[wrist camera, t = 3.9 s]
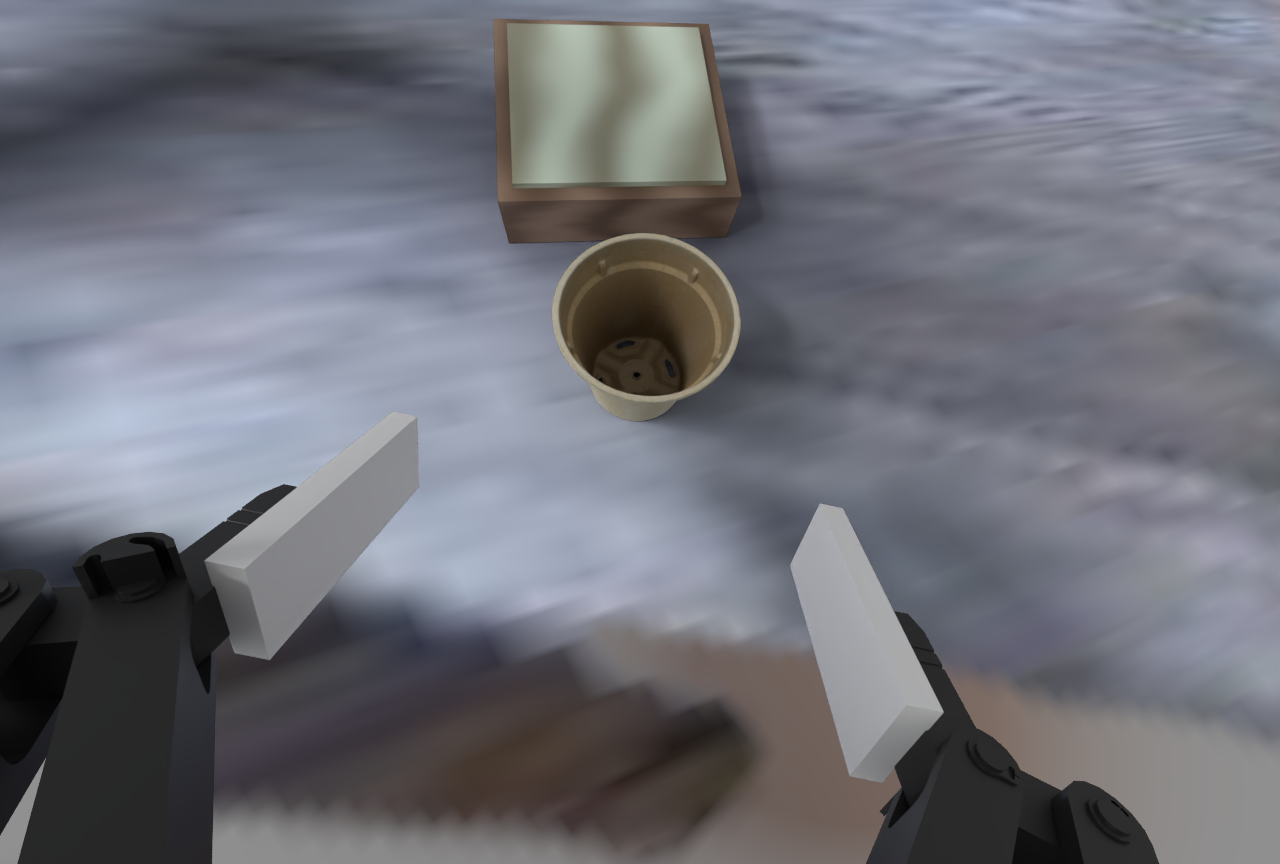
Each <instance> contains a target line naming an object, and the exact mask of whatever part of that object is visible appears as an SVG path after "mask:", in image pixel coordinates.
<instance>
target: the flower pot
mask: <svg viewBox="0 0 1280 864" xmlns="http://www.w3.org/2000/svg"><path fill="white" fill-rule="evenodd" d="M552 319H553V328H554V332H555V336H556V339H557V342H558V345H559V347H560V349H561V351H562V353H563V355H564V357H565V358H566V360H567V361H568V363H569V364H570V365H571V367H572V368H573V369H574V370H575V371H576V372H577V373H578V374H579V375H580V376H581V377H582V378H583V379H584V380H585V381H586V382H588V383H589V384H590V387H591V389H592V392H593V394H594V396H595V398H596V399H597V401H598V402H599V404H600V405H601V406H602V407H603V408H604V409H606V410H607V411H609V412H610V413H612V414H614V415H616V416H618V417H620V418H622V419H625V420H630V421H644V420H650V419H653V418H655V417H658V416H660V415H662V414H663V413H665V412H666V411H667V410H669V409H670V408H671V407H672V406H673V405H674V403H675V402H676V401H677V400H680V399H683V398H686V397H689V396H691V395H693V394H695V393H697V392H699V391H700V390H702V389H704V388H705V387H707V386H708V385H709V384H710V383H712V382H713V381H714V380H715V379H716V378H717V377H718V376H719V375H720V374H721V373H722V372H723V370H724V369H725V368H726V366H727V365H728V364H729V362H730V360H731V358H732V356H733V354H734V352H735V350H736V347H737V344H738V340H739V335H740V329H741V319H740V313H739V305H738V302H737V299H736V295H735V293H734V291H733V289H732V287H731V284H730V283H729V281H728V279H727V278H726V276H725V275H724V273H723V272H722V271H721V269H720V268H719V267H718V266H717V265H716V264H715V263H714V262H713V261H712V260H711V259H710V258H709V257H708V256H706V255H705V254H703V253H702V252H701V251H699V250H698V249H697V248H695V247H694V246H691V245H690V244H687V243H685V242H683V241H681V240H678V239H675V238H671V237H668V236H666V235H658V234H650V233H636V234H625V235H622V236H618V237H615V238H611V239H608V240H605V241H603V242H600V243H598V244H596V245H595V246H593V247H591V248H589V249H588V250H586V251H585V252H583V254H581V255H580V256H579V257H578V258H577V259H576V260H574V261H573V262H572V263H571V265H570V266H569V267H568V269H567V270H566V271H565V273H564V274H563V276H562V278H561V280H560V282H559V284H558V286H557V288H556V292H555V295H554V300H553V307H552ZM625 341H631V342H634V345H630V346H626V347H622V348H620V349H617V347H616V346H617V345H618V344H620V343H621V342H625ZM667 360H668V362H669V363H670V364H671V366H672V368H673V370H674V372H675V376H673V377H671V376H669V374H668V369H667V366H666V364H665V361H667ZM635 372H638V373H639V374H640V376H639V377H638V378H635V377H634V373H635ZM600 378H602V379H603V383H604V384H603V383H601V382H600V381H599V379H600ZM605 384H606V385H605Z"/></svg>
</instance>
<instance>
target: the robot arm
mask: <svg viewBox="0 0 1280 864" xmlns="http://www.w3.org/2000/svg"><path fill="white" fill-rule="evenodd" d="M418 488H419V464H418V429H417V416H412V415H407V414H403V413H398V412H394V411H393V412H392V413H390V414H389V415H388V416H387V417H385V418H384V419H383V420H382V421H380V422H379V423H378V424H377V425H375V426H374V427H373V428H371V429H370V430H369V431H368V432H366V433H365V434H364V435H363V436H361V437H360V438H359V439H358V440H356V441H355V442H354V443H352V444H351V445H350V446H349V447H347V448H346V449H345V450H344V451H342V452H341V453H340V454H339V455H337V456H336V457H335V458H334V459H332V460H331V461H330V462H328V463H327V464H326V465H325V466H323V467H322V468H321V469H320V470H318V471H317V472H316V473H315V474H313V475H312V476H311V477H309V478H308V479H307V480H306V481H304V482H303V483H302V484H301V485H299V486H298V487H295V486H290V485H285V484H283V485H281V486H279V487H276V488H274V489H271V490H269V491H267V492H264V493H262V494H260V495H258V496H257V497H256V498H254V499H253V500H252V501H250V502H249V503H248V504H246V505H245V506H244V507H242V510H241V511H240V510H238V511H237V512H235V513H234V514H233V515H231V516H230V517H229V518H227V521H226V522H224V521H223V522H222V523H221V524H219V525H218V526H216V527H215V528H214V529H212V530H211V531H210V532H208V533H207V534H206V535H204V536H203V537H202V538H200V539H199V540H197V541H196V542H195V543H193V544H192V545H191V546H189V547H188V548H187V549H185V550H184V551H183V552H181V553H180V554H179V553H178V551H177V548H176V545H175V542H174V539H173V538H171V537H169V536H167V535H166V534H163V533H154V532H144V533H134V534H128V535H125V536H121V537H117V538H114V539H111V540H108V541H106V542H104V543H102V544H100V545H97V546H95V547H93V548H92V549H90V550H89V551H88V552H86V553H85V554H83V555H82V556H81V557H79V559H78V560H77V562H76V563H75V565H74V566H73V567H72V568H73V570H74V572H75V574H76V576H77V578H78V580H79V582H80V583H81V585H82V587H64V588H50V586H49V584H48V582H47V581H46V579H45V577H44V575H43V574H42V573H40V572H37V571H34V570H31V569H12V570H6V571H0V835H1V833H2V831H3V829H4V828H5V826H6V824H7V823H8V821H9V819H10V818H11V816H12V814H13V813H14V811H15V809H16V807H17V806H18V804H19V802H20V801H21V799H22V797H23V795H24V794H25V792H26V790H27V789H28V787H29V785H30V784H31V782H32V780H33V778H34V777H35V775H36V773H37V772H38V770H39V768H40V767H41V765H42V763H43V761H44V760H45V758H46V760H45V764H44V768H43V772H42V775H41V779H40V783H39V786H38V791H37V794H36V798H35V801H34V805H33V808H32V812H31V816H30V820H29V823H28V827H27V831H26V834H25V838H24V842H23V846H22V849H21V853H20V856H19V860H18V864H212V836H213V793H214V751H215V708H216V665H217V659H216V656H215V653H214V650H215V649H216V648H217V647H218V646H219V645H220V644H221V643H222V642H223V641H224V640H225V639H226V638H227V637H228V636H229V638H230V641H231V644H232V647H233V650H234V653H237V654H242V655H247V656H252V657H257V658H262V659H267V660H270V659H271V658H272V657H273V655H274V654H275V653H276V652H277V651H278V650H279V648H280V647H281V646H282V645H283V644H284V643H285V641H286V640H287V639H288V638H289V637H290V636H291V635H292V633H293V632H294V631H295V630H296V629H297V628H298V626H299V625H300V624H301V623H302V622H303V621H304V620H305V618H306V617H307V616H308V615H309V614H310V613H311V611H312V610H313V609H314V608H315V607H316V606H317V604H318V603H319V602H320V601H321V600H322V599H323V598H324V596H325V595H326V594H327V593H328V592H329V591H330V589H331V588H332V587H333V586H334V585H335V584H336V582H337V581H338V580H339V579H340V578H341V577H342V576H343V574H344V573H345V572H346V571H347V570H348V569H349V567H350V566H351V565H352V564H353V563H354V562H355V561H356V559H357V558H358V557H359V556H360V555H361V554H362V552H363V551H364V550H365V549H366V548H367V547H368V545H369V544H370V543H371V542H372V541H373V540H374V539H375V537H376V536H377V535H378V534H379V533H380V532H381V530H382V529H383V528H384V527H385V526H386V525H387V523H388V522H389V521H390V520H391V519H392V518H393V517H394V515H395V514H396V513H397V512H398V511H399V510H400V508H401V507H402V506H403V505H404V504H405V503H406V502H407V500H408V499H409V498H410V497H411V496H412V495H413V493H414V492H415V491H416V490H417V489H418ZM790 567H791V571H792V574H793V578H794V581H795V585H796V589H797V592H798V596H799V599H800V603H801V606H802V610H803V613H804V617H805V620H806V624H807V627H808V631H809V634H810V638H811V641H812V645H813V649H814V652H815V656H816V659H817V663H818V666H819V670H820V673H821V677H822V680H823V684H824V687H825V690H826V694H827V698H828V701H829V705H830V708H831V712H832V716H833V719H834V722H835V726H836V730H837V733H838V737H839V740H840V744H841V747H842V751H843V754H844V758H845V761H846V765H847V768H848V772H849V776H851V777H856V778H861V779H867V780H871V781H876V782H883V781H884V780H885V779H886V778H887V777H888V776H889V775H890V773H891V772H892V771H893V770H894V769H895V770H896V773H897V775H898V778H899V781H900V783H901V786H902V788H901V789H900V790H899V791H898V792H897V793H896V794H895V795H894V796H893V798H892V799H891V800H890V801H889V802H888V803H887V804H886V805H885V806H884V807H883V808H882V810H881V811H880V812H881V813H882V814H883V815H884V816H885V815H886V814H887V815H886V818H885V820H884V822H883V825H882V827H881V829H880V832H879V834H878V837H877V839H876V841H875V844H874V846H873V848H872V851H871V853H870V855H869V858H868V860H867V863H866V864H1159V862H1158V859H1157V857H1156V854H1155V851H1154V848H1153V845H1152V844H1151V842H1150V840H1149V838H1148V836H1147V834H1146V832H1145V830H1144V829H1143V828H1142V826H1141V825H1140V824H1139V823H1138V821H1137V820H1136V819H1135V817H1134V816H1133V815H1132V814H1131V813H1130V812H1129V811H1128V810H1127V809H1126V808H1125V807H1124V806H1123V805H1122V804H1121V803H1119V802H1118V801H1117V800H1116V799H1115V798H1114V797H1112V796H1111V795H1109V794H1108V793H1106V792H1105V791H1104V790H1102V789H1100V788H1099V787H1097V786H1094V785H1092V784H1090V783H1087V782H1084V781H1073V782H1072V783H1071V784H1070V785H1069V786H1067V787H1066V788H1065V789H1064V790H1062V791H1061V790H1059V789H1057V788H1055V787H1053V786H1051V785H1049V784H1047V783H1045V782H1043V781H1041V780H1039V779H1037V778H1035V777H1033V776H1031V775H1029V774H1027V773H1025V772H1023V771H1021V770H1020V769H1019V767H1018V764H1017V763H1016V761H1015V760H1014V759H1013V758H1012V756H1011V755H1010V754H1009V752H1008V751H1007V750H1006V749H1005V748H1004V747H1003V746H1002V745H1001V744H1000V743H998V742H997V741H996V740H995V739H994V738H993V737H991V736H989V735H987V734H986V733H984V732H983V731H981V730H979V729H976V727H975V726H974V724H973V722H972V720H971V718H970V716H969V714H968V712H967V711H966V709H965V707H964V705H963V703H962V701H961V699H960V698H959V696H958V694H957V692H956V690H955V688H954V687H953V685H952V683H951V681H950V679H949V677H948V675H947V674H946V672H945V670H943V669H942V664H941V662H940V661H939V659H938V657H937V655H936V654H934V649H933V648H932V646H931V644H930V642H929V640H928V638H927V637H926V635H925V633H924V631H923V630H922V629H921V628H920V627H919V626H918V625H917V624H916V623H915V621H914V620H913V619H912V618H911V617H910V616H909V615H908V614H905V613H900V612H895V611H893V609H892V607H891V605H890V603H889V601H888V599H887V597H886V594H885V592H884V590H883V588H882V586H881V584H880V582H879V580H878V578H877V576H876V574H875V572H874V570H873V568H872V566H871V564H870V562H869V560H868V558H867V556H866V554H865V552H864V550H863V548H862V546H861V544H860V542H859V540H858V538H857V536H856V534H855V532H854V530H853V528H852V526H851V524H850V522H849V520H848V518H847V516H846V514H845V512H844V510H843V508H839V507H834V506H830V505H825V504H821V503H820V504H819V506H818V508H817V510H816V512H815V514H814V516H813V519H812V521H811V523H810V525H809V527H808V529H807V531H806V533H805V535H804V537H803V539H802V541H801V543H800V545H799V548H798V550H797V552H796V554H795V556H794V558H793V560H792V562H791V564H790ZM46 756H47V757H46Z"/></svg>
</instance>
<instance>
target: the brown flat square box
mask: <svg viewBox="0 0 1280 864" xmlns="http://www.w3.org/2000/svg"><path fill="white" fill-rule="evenodd" d="M493 21H494V63H495V104H496V145H497V187H498V204H499V208H500V211H501V215H502V219H503V222H504V226H505V230H506V233H507V237H508V241H509V243H535V242H570V241H605V240H608V239H611V238H615V237H618V236H622V235H625V234H636V233H650V234H658V235H666V236H668V237H671V238H675V239H676V238H711V237H726V236H727V234H728V231H729V228H730V226H731V223H732V221H733V218H734V216H735V213H736V210H737V208H738V205H739V203H740V200H741V198H742V196H741V191H740V186H739V180H738V175H737V170H736V165H735V159H734V154H733V149H732V144H731V139H730V133H729V128H728V123H727V118H726V113H725V107H724V102H723V97H722V92H721V86H720V81H719V76H718V71H717V66H716V60H715V55H714V50H713V45H712V39H711V34H710V29H709V24H688V23H645V22H601V21H558V20H515V19H493Z"/></svg>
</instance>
